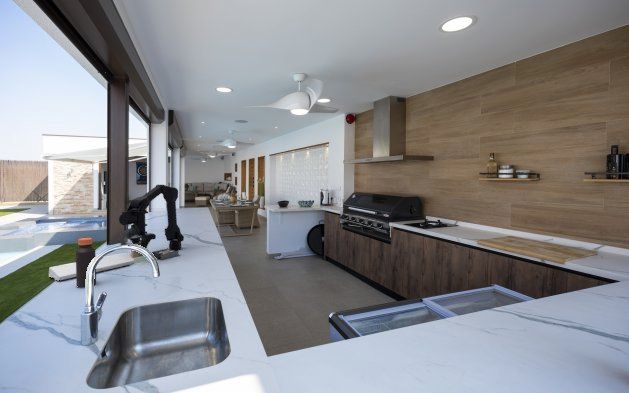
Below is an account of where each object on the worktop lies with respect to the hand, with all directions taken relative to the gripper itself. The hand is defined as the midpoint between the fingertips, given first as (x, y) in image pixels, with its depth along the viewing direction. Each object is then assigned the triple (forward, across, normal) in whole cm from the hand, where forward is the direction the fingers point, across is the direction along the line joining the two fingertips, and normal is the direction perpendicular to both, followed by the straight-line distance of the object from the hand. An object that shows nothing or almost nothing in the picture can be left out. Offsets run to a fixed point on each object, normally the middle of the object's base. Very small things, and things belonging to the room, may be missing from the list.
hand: (139, 251), depth 171 cm
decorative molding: (+6, -4, -20) cm, 21 cm away
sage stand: (+6, 0, 0) cm, 6 cm away
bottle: (+6, +14, -34) cm, 37 cm away
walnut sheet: (+5, 0, 0) cm, 5 cm away
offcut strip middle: (+5, +3, +13) cm, 14 cm away
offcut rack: (+6, +3, +13) cm, 15 cm away
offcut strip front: (+5, +6, +13) cm, 15 cm away
